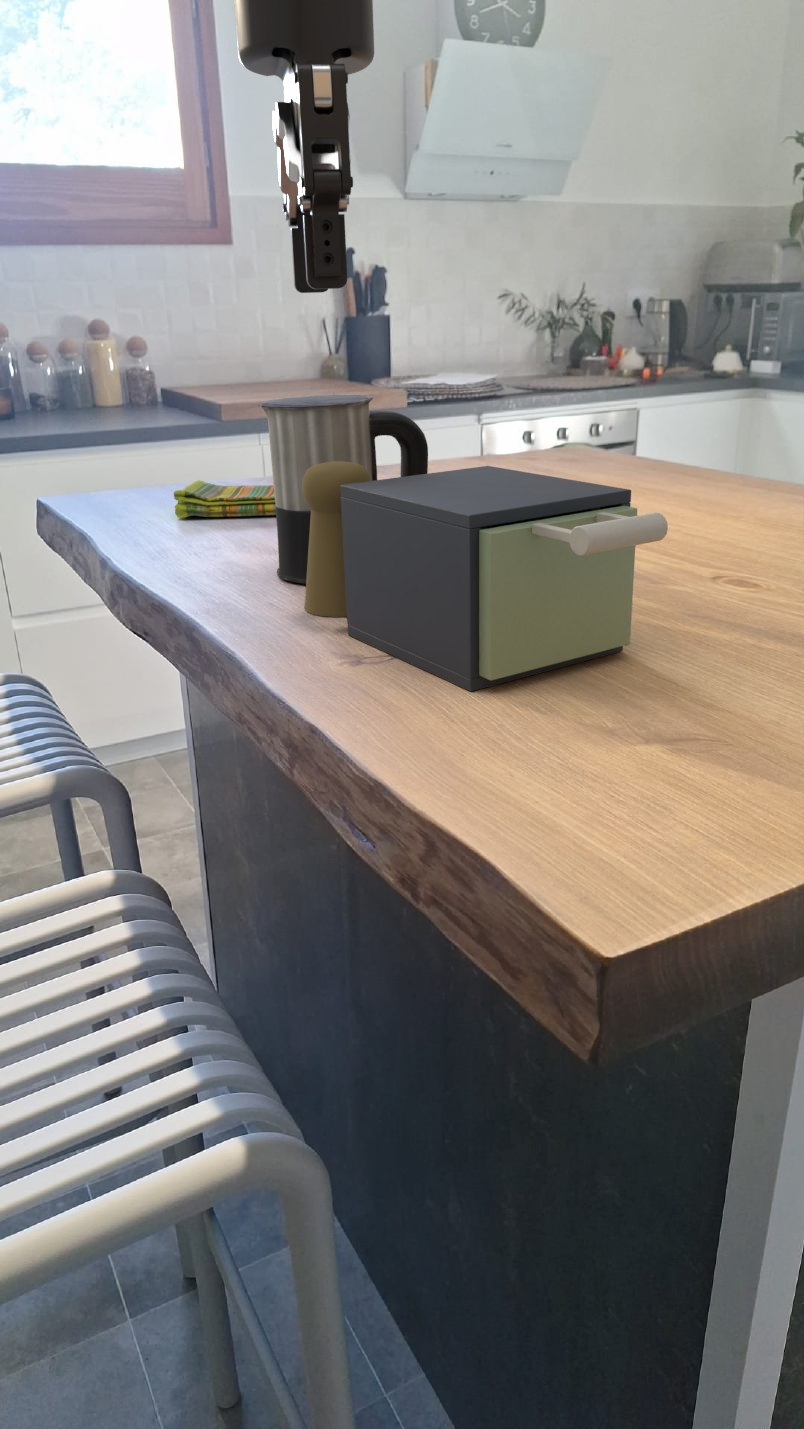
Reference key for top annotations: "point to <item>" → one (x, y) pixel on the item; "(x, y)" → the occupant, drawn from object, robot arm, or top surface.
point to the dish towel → (224, 500)
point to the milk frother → (327, 457)
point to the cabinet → (441, 559)
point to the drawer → (558, 586)
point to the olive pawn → (327, 535)
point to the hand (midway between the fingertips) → (319, 290)
